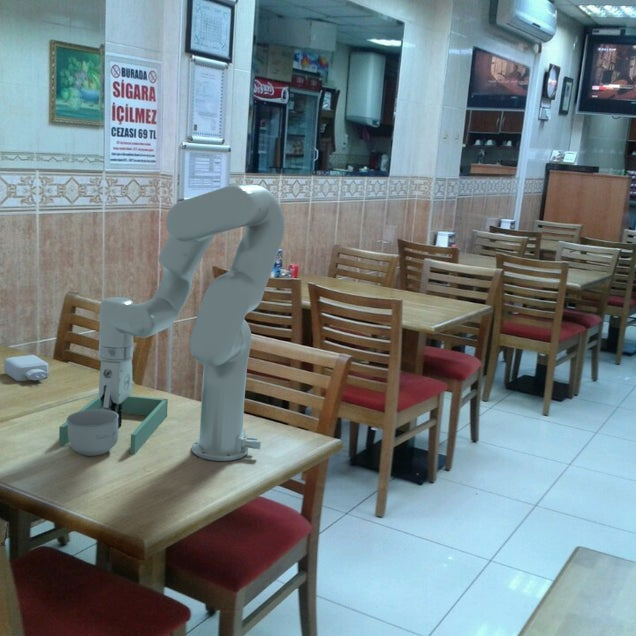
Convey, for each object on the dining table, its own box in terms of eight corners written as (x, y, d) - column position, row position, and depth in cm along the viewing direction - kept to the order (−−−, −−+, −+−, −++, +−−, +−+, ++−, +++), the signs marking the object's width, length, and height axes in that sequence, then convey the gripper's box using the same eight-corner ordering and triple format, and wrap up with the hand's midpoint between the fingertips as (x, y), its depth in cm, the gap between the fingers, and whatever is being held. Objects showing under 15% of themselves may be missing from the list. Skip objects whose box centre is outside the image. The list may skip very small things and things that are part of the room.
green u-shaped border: (167, 416, 189) (167, 399, 188) (134, 454, 164) (135, 434, 163) (101, 409, 190) (101, 392, 189) (59, 446, 165) (59, 426, 164)
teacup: (102, 463, 158) (102, 427, 156) (56, 455, 160) (56, 419, 158) (133, 441, 171) (134, 408, 169) (90, 433, 173) (91, 400, 172)
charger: (24, 388, 202) (3, 374, 212) (58, 383, 208) (36, 370, 219) (24, 371, 201) (3, 358, 211) (58, 367, 207) (36, 354, 218)
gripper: (120, 361, 164) (117, 440, 168) (142, 345, 178) (139, 418, 182) (87, 358, 164) (85, 436, 168) (111, 342, 179) (109, 415, 183)
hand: (113, 427), depth 175 cm, fingers closed
